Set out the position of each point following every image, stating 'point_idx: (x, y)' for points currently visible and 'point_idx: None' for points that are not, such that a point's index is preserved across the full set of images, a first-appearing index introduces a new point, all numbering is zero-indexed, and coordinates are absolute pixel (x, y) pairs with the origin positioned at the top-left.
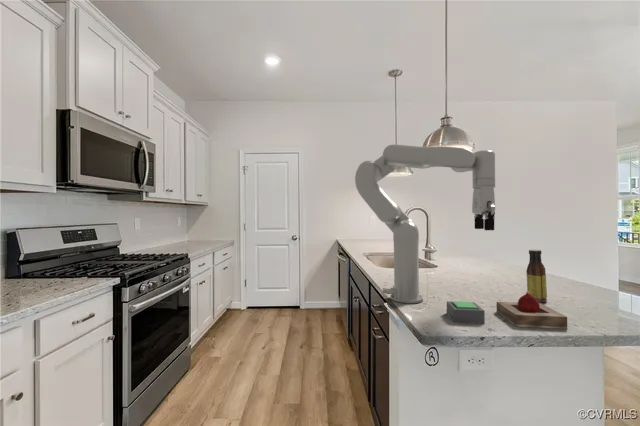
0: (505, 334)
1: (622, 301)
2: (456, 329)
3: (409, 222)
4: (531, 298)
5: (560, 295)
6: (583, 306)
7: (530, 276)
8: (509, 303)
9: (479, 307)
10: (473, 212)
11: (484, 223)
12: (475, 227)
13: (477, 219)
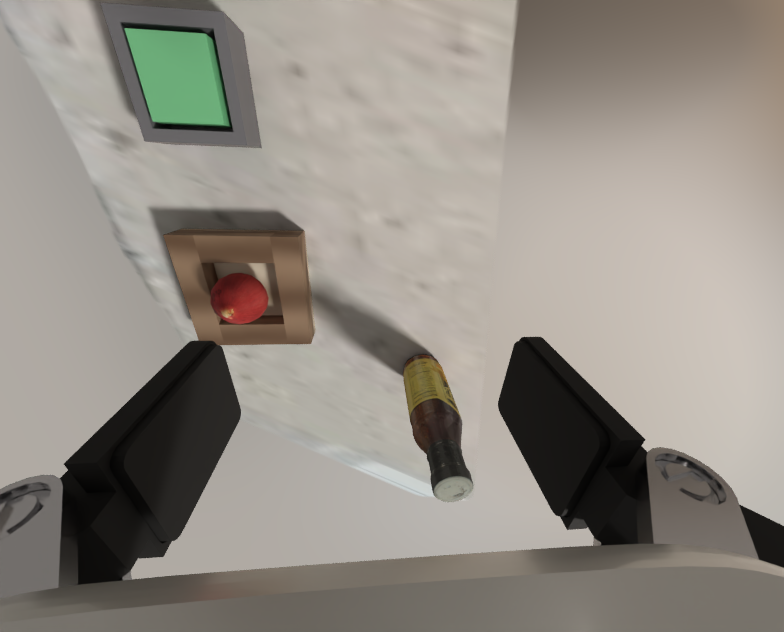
0: (96, 169)
1: (423, 485)
2: (56, 3)
3: None
4: (213, 308)
5: (465, 425)
6: (384, 424)
7: (424, 397)
8: (286, 267)
9: (180, 138)
10: (689, 592)
11: (145, 395)
12: (528, 345)
13: (584, 455)
